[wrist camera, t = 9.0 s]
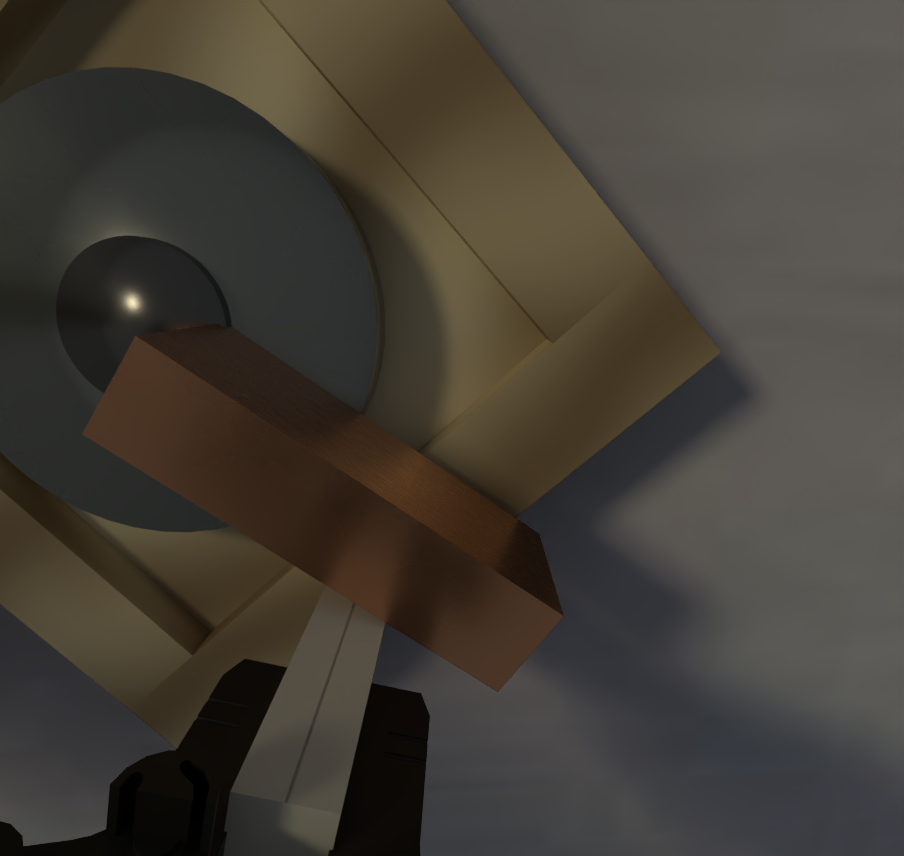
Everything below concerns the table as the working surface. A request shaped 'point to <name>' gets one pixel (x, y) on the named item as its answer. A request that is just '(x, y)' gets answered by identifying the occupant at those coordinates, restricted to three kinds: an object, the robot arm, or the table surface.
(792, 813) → the table surface
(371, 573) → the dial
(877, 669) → the table surface
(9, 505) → the panel
